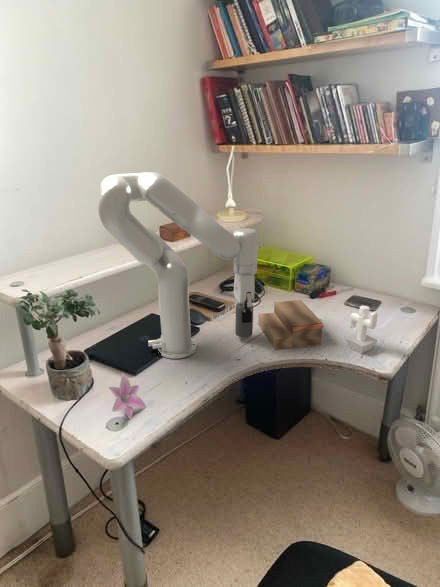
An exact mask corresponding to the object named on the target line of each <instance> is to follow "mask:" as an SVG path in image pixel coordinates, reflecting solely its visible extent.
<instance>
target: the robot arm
mask: <svg viewBox="0 0 440 587" xmlns="http://www.w3.org/2000/svg"><path fill="white" fill-rule="evenodd" d="M99 193H100V196H99V199H98V200H99V201H98V208H97V209H98V210H97V211H98V216H99V220H100V222H101V224H102V226H103V227H104V228H105V229H106V231H107V232H108V233H110V235H111V236H112V237H113V238H114V239H115V240H116V241H117V242H118V243H119V244H120V245H121V246H122V247H123V248H124V249H125V250H126V251H127V252H129V253H130V255H132V257H133V258H134V259H135V260H136V261H137V262H139V263H140V264H143V265H146V266H147V267H148V268H149V269H150V270H152V272H154V275H155V276H156V280H157V286H158V288H157V294H158V309H159V317H160V320H159V321H160V329H161V330H160V331H161V335H160V338H159V337H158V338H157V339H151V340H149V339H148V340H147V341H148V343H147V344H148V347H151V348H152V349H157V350H158V351H159V352H160V353H161V355H160V356H162V357H164V358H167V359H173V360H175V359H183V358H187V357H190V356H191V355H193V354H195V352H196V351H197V344H196V342H195V341H194V340H192V330H191V329H192V328H191V315H190V313H191V312H190V311H191V310H190V294H189V292H190V291H189V290H190V273H189V270H188V267H187V266H186V265H187V264H185V263H184V261H183V260H182V259H181V257H180V255H179V254H178V253H177V252H176V251H175V250H174V249H173V248H172V247H171V246H170V245H169V244H168V243H167V242H166V241H165V240H164V239H163V238H162V237H161V236H160V235H159V234H158V233H156V232H155V231H154V230H153V229H151V228H150V227H147V226H146V227H145V226H144V224H142V223H141V222H140V220H138V218H137V217H136V216H134V215H133V213H132V212H131V210H130V204H131V203H133V202H134V203H135V202H136V203H137V202H144V201H146V202H147V203H149V204H150V205H151V206H153V207H154V208H155V209H156V210H157V211H159V212H160V213H162V214H163V215H164V216H166V217H167V218H168V219H169V220H171V221H172V222H174V224H176V225H177V226H178V227H180V228H181V229H182V230H183V231H184V232H186V233H187V234H189V235H191V237H193V238H195V239H196V240H197V241H199V242H200V243H201V244H202V245H204V246H205V247H206V248H207V249H209V250H210V251H212V253H214V254H215V255H216V256H218V257H219V258H221V259H223V260H233V273H234V277H233V278H234V282H233V296H234V297H235V299H236V301H238V302H237V303H239V304H242V303H243V311H242V323H249V322H252V305H253V304H254V302H255V292H256V291H255V274H257V271H258V248H259V247H258V246H259V244H258V240H259V238H258V237H259V235H258V232H257V230H256V229H254V228H248V227H244V228H243V227H242V228H238V229H233V228H232V229H231V228H224V227H223V226H222V225H221V224H220V223H218V222H217V221H216V220H215V219H214V218H212V217H211V216H210V215H209V214H208V213H207V212H206V211H205V210H204V209H203V207H201V206H200V205H199V203H197V202H196V201H194V200H193V199H192V198H191V197H189V196H188V195H187V194H185V192H183V191H182V190H181V189H179V187H177V186H176V185H175V184H173V183H172V182H171V181H170V180H169V179H167V178H166V177H165V176H164V175H163V174H161V173H158V172H156V171H155V172H154V171H148V172H147V171H146V172H136V173H135V172H134V173H119V174H116V173H115V174H111V175H108V176H106V177H104V179H102V181H101V183H100V186H99ZM245 301H247V302H245ZM244 302H245V303H244ZM245 304H247V306H246V307H245ZM160 348H161V349H160ZM158 351H157V352H158ZM159 352H158V353H159Z"/></svg>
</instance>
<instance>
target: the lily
mask: <svg viewBox="0 0 440 587" xmlns="http://www.w3.org/2000/svg"><path fill="white" fill-rule="evenodd" d="M139 389H140V385H138V384H135V385H131V382H130V381H129V378H128V377H127V375H126V374H125V373H124V372H123V373H121V378H120V384H119V387H117V386H108V390H109V391H110V393H112V394H113V396H114V397H115V400H114V404H113V406H112V408H111V411H112V412H120V411H125V414H126V415H127V417H128V419H129V420H131V419H132V418H133V411H134V409H146V408H147V405H146V403H145V401H143V399H141V397H140V396H138V395H137V394H138V392H139Z"/></svg>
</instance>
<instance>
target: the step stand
mask: <svg viewBox="0 0 440 587" xmlns="http://www.w3.org/2000/svg"><path fill="white" fill-rule="evenodd" d="M273 305H274V306H273V308H274V309H273V312H267V313H258V315H257V316H258V317H257V318H258V320H257V322H258V323H257V325H258V326H259V327H260V329H261V331H262V333H263V334H264V335H265V338H266V339H267V341H268V342H269V344H270V345H271V347H272V348H273V350H274V351H279V350H286V349H296V348H302V347H309V346H312V347H313V346H318V345H319V346H320V345H322V336H323V335H322V333H323V327H324V324H323V321H321V319H320V318H319V317H318V316H316V314H315V313H314V311H312V310H311V309H310V308H309V307H308V306H307V304H305V302H303V300H302V299H296V300H294V299H293V300H285V301H277V302H276V301H275V302H274V304H273Z"/></svg>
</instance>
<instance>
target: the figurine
mask: <svg viewBox="0 0 440 587" xmlns="http://www.w3.org/2000/svg"><path fill="white" fill-rule="evenodd" d="M369 313H370V307H369V306H367V305H360V306H359V311H358V313H357V312H352V313H351V314H350V318H349V328H350V329H355V328H357V333H354V334H352V335H348V336H346V337H344V339H345V341H346V342H347V345H348V346H349V348H350V350H353V351H355V352H357V353H358V354H360V355H361V354H364V353H367V352H368V351H371V349H372V348H373V347H374V346H375V345H376V343H377V342H378V341H379V340H378V339H376V338H374V337H372V336H369V335H368V334H367V330H368V329H371V330H374V329H375V328H376V326H377V322H378V313H377V312H375V311H373V312H372V313H370V318H369ZM356 326H357V327H356Z"/></svg>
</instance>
